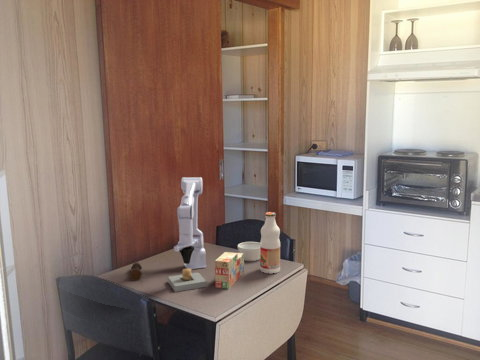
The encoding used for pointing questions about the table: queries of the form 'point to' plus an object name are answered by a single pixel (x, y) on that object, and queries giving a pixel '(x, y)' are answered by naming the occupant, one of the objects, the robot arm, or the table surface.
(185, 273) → the peg
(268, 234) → the fruit juice
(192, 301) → the table surface
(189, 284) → the board
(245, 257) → the ramekin
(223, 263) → the stack of blocks
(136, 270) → the bolt
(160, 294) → the table surface
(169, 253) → the table surface
